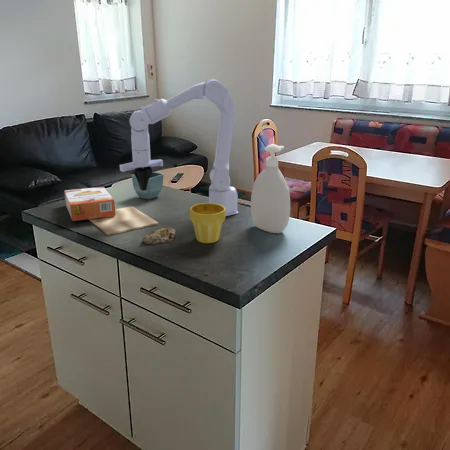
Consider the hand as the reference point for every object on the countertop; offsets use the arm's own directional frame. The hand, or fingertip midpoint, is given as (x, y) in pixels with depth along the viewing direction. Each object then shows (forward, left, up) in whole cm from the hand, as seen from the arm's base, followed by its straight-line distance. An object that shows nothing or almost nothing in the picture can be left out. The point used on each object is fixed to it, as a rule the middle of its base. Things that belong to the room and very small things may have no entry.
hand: (143, 189), depth 152 cm
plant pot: (-6, +29, -9) cm, 32 cm away
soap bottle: (-27, +33, -9) cm, 44 cm away
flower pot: (-10, -18, -9) cm, 22 cm away
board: (+9, 0, -9) cm, 13 cm away
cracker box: (+16, -3, -5) cm, 17 cm away
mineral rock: (+6, +21, -10) cm, 24 cm away
